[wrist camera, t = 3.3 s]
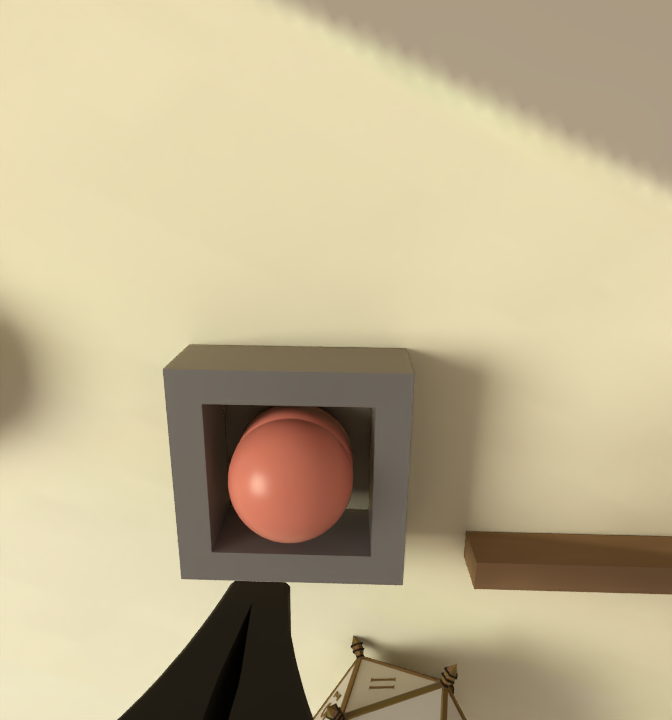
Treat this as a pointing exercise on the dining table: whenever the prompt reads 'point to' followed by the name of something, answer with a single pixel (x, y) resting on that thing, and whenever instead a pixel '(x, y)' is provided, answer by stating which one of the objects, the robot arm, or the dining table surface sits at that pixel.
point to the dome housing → (287, 388)
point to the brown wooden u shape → (569, 562)
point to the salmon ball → (291, 473)
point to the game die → (390, 693)
